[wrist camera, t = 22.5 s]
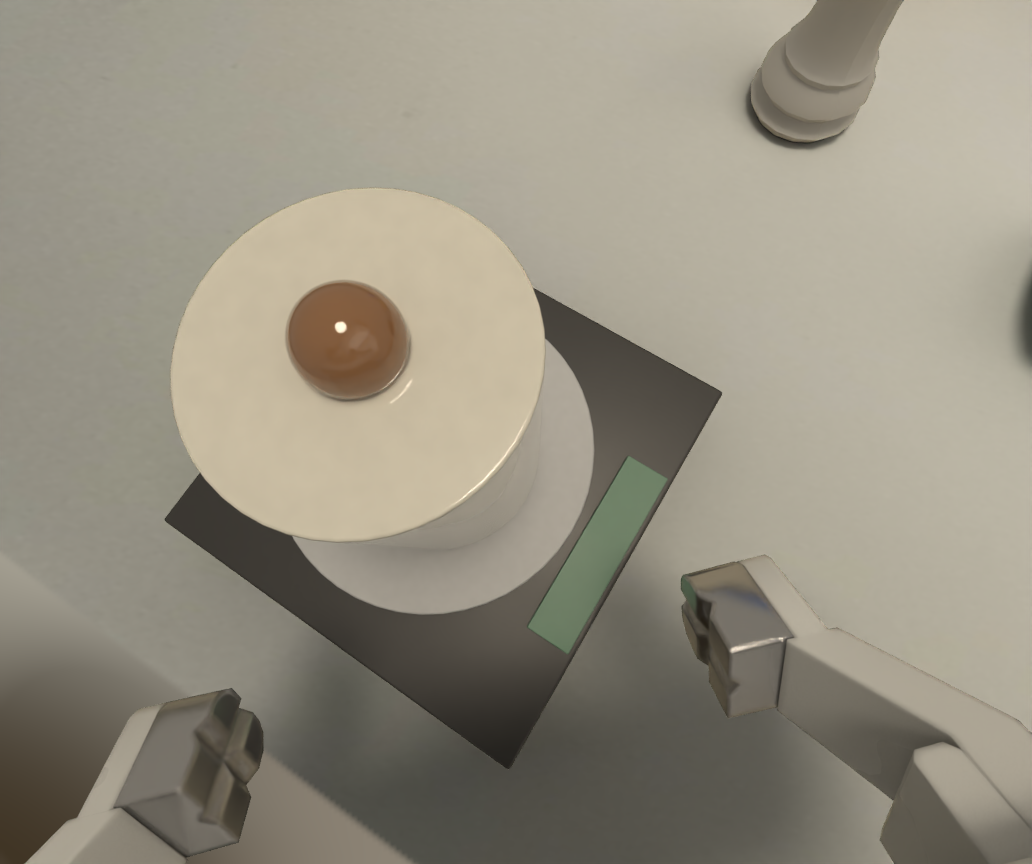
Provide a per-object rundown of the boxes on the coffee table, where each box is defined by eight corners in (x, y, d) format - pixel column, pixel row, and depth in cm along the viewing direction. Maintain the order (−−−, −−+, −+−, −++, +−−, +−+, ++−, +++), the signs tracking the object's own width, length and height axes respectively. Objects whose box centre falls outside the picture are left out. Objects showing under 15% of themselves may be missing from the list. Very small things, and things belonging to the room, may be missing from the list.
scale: (702, 410, 19) (730, 385, 16) (511, 744, 16) (507, 781, 14) (412, 247, 21) (394, 201, 18) (205, 524, 18) (148, 518, 16)
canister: (561, 522, 15) (602, 473, 6) (363, 571, 15) (119, 593, 6) (513, 339, 17) (490, 91, 8) (332, 384, 17) (96, 180, 8)
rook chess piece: (866, 142, 21) (1057, -96, 14) (758, 155, 21) (888, -75, 14) (837, 56, 22) (1000, -210, 15) (735, 69, 22) (842, -191, 15)
